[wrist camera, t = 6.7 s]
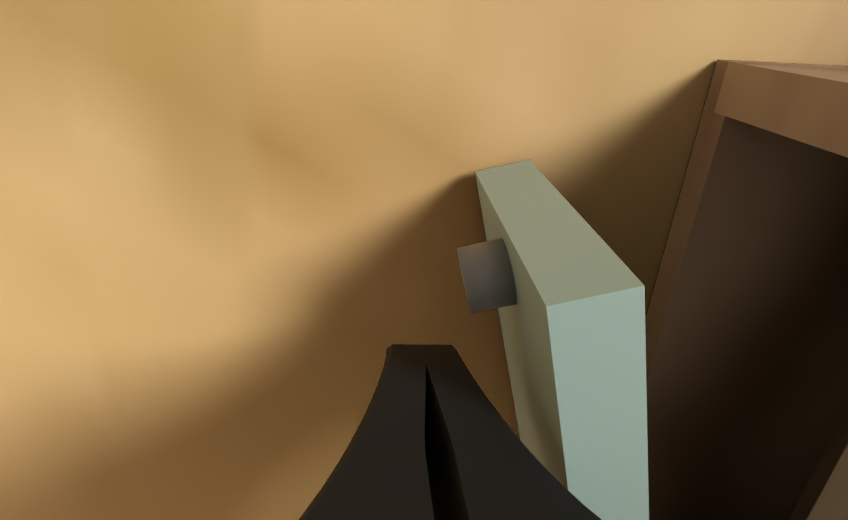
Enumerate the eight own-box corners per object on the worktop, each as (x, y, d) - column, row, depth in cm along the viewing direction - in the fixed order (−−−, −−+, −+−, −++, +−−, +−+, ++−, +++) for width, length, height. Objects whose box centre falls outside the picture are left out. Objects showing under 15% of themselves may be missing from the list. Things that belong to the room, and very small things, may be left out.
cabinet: (1020, 75, 12) (1666, 150, 6) (771, 551, 19) (948, 803, 13) (717, 59, 11) (1094, 127, 5) (578, 557, 18) (671, 824, 12)
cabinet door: (576, 557, 17) (654, 780, 12) (517, 568, 18) (571, 795, 13) (529, 159, 11) (644, 285, 6) (438, 179, 11) (480, 320, 6)
